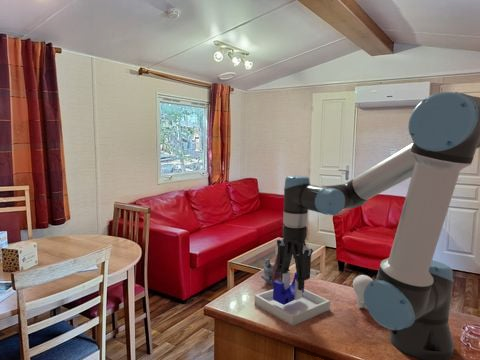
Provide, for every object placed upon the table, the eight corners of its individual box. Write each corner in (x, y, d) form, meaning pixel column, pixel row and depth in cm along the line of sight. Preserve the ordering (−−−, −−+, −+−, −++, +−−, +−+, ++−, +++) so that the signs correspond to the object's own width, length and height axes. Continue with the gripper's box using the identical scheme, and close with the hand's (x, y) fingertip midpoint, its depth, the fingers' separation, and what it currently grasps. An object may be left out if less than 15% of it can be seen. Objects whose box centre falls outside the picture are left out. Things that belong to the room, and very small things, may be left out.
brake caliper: (291, 284, 126) (272, 255, 127) (267, 298, 130) (248, 270, 131) (297, 273, 137) (279, 246, 138) (274, 286, 140) (257, 260, 142)
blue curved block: (283, 304, 108) (284, 286, 107) (272, 299, 111) (273, 281, 110) (307, 293, 116) (308, 276, 115) (296, 289, 119) (297, 272, 118)
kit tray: (329, 309, 113) (330, 300, 112) (292, 326, 102) (292, 316, 102) (291, 290, 126) (291, 282, 126) (254, 303, 116) (254, 295, 115)
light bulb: (364, 302, 118) (366, 270, 117) (377, 311, 112) (380, 278, 111) (347, 304, 116) (349, 272, 115) (359, 314, 110) (362, 280, 109)
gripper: (325, 229, 106) (321, 303, 109) (283, 217, 120) (280, 283, 123) (308, 233, 102) (304, 309, 105) (267, 220, 116) (264, 288, 119)
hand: (291, 295), depth 114 cm, fingers closed on blue curved block, 5 cm apart
